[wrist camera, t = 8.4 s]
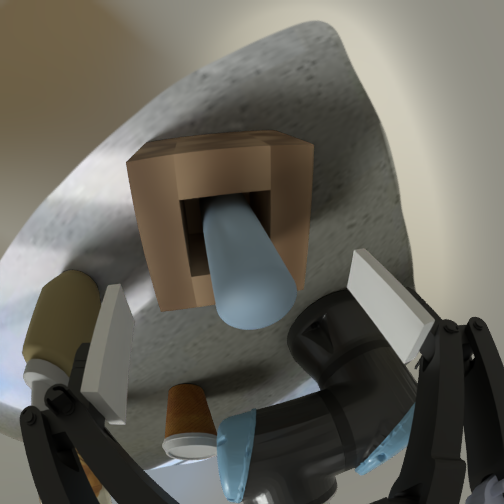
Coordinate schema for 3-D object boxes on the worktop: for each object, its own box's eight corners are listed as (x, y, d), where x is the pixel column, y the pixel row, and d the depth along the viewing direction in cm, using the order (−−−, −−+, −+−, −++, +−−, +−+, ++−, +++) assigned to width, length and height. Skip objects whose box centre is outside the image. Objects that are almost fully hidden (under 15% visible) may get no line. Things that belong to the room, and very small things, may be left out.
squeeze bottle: (59, 312, 29) (24, 432, 14) (43, 260, 25) (-21, 385, 10) (113, 314, 31) (95, 448, 16) (102, 260, 27) (58, 407, 12)
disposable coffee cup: (223, 387, 44) (236, 447, 34) (193, 408, 46) (201, 463, 36) (177, 372, 39) (183, 440, 29) (150, 395, 42) (152, 455, 31)
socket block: (274, 130, 24) (314, 144, 17) (273, 239, 31) (303, 289, 23) (146, 142, 22) (126, 162, 15) (164, 254, 29) (161, 311, 21)
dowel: (241, 177, 24) (299, 259, 12) (243, 217, 26) (294, 321, 15) (196, 182, 23) (211, 273, 12) (201, 223, 26) (220, 335, 14)
